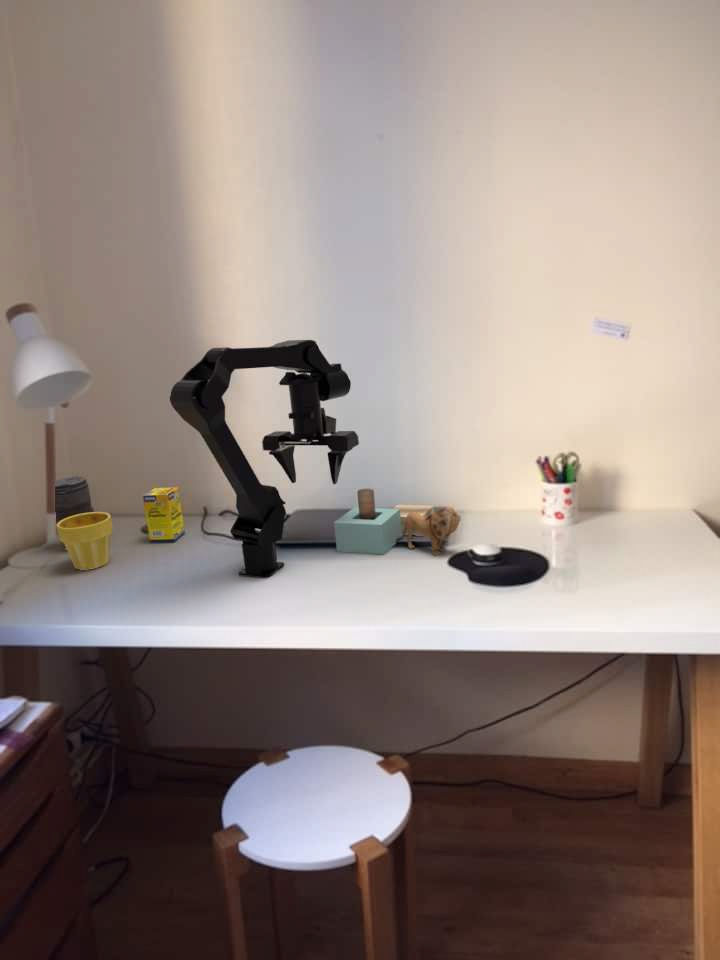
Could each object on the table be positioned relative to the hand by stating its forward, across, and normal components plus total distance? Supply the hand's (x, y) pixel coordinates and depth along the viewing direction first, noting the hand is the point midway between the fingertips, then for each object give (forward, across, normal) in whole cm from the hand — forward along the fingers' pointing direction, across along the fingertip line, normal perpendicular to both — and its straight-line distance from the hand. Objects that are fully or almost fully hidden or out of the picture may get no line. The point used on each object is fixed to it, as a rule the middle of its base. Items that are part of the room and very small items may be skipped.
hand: (314, 483), depth 147 cm
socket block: (+13, -10, -2) cm, 17 cm away
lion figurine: (+13, -23, -2) cm, 26 cm away
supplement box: (+13, +37, +2) cm, 39 cm away
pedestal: (+13, -15, -12) cm, 23 cm away
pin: (+10, -10, -2) cm, 14 cm away
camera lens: (+13, +55, +10) cm, 57 cm away
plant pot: (+13, +43, +19) cm, 49 cm away
